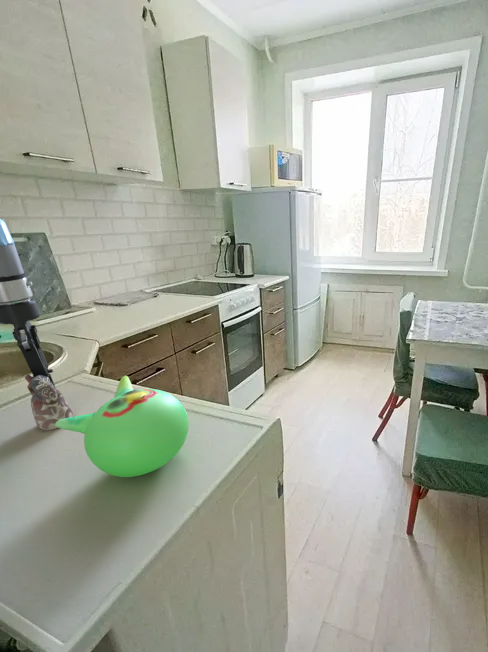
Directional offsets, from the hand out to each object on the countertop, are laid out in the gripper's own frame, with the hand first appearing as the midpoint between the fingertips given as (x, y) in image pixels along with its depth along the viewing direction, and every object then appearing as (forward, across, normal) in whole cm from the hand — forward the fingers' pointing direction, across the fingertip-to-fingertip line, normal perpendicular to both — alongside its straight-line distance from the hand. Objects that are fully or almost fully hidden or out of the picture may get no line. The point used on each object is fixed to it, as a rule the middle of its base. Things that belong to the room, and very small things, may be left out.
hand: (53, 401), depth 83 cm
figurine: (+3, -4, 0) cm, 5 cm away
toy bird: (+4, -31, -14) cm, 34 cm away
